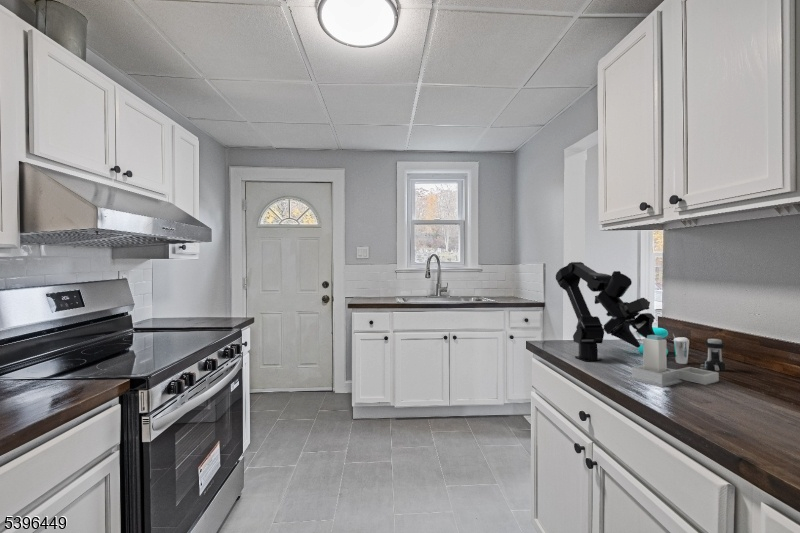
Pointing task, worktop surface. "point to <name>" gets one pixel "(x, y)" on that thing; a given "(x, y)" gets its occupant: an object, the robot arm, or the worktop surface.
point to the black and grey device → (714, 355)
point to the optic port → (655, 376)
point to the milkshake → (681, 349)
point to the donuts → (658, 332)
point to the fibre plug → (654, 353)
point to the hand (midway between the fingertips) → (648, 345)
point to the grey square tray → (698, 375)
